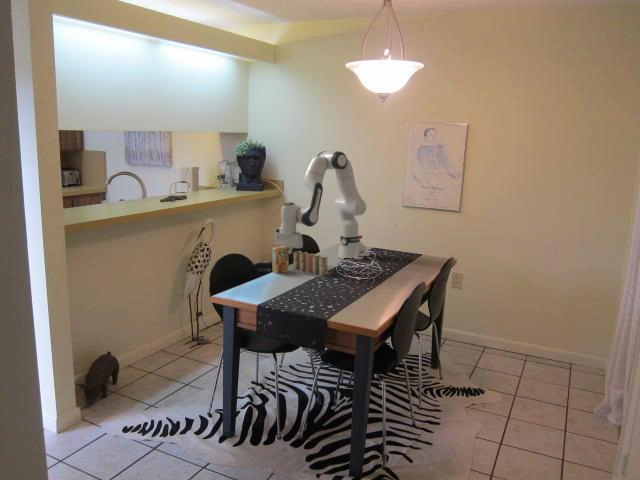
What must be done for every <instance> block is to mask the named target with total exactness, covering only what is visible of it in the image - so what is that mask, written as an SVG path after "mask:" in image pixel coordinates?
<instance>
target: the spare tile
mask: <svg viewBox="0 0 640 480" xmlns="http://www.w3.org/2000/svg"><path fill="white" fill-rule="evenodd" d="M313 256H315V253H308V254H307V255H306V272H311V271H313Z"/></svg>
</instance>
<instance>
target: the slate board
mask: <svg viewBox="0 0 640 480" xmlns="http://www.w3.org/2000/svg"><path fill="white" fill-rule="evenodd" d="M289 271H292V272H296V273H300V274H304V275H309V276H313V277H317V278H320V277H324V276H328V275H330V274H333V272H330V271H327V274H325V275H319V273H316V274H313V271H311V272H306V270H303V271H301V270H300V268H299V269H294V267H293V268H289Z"/></svg>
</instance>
